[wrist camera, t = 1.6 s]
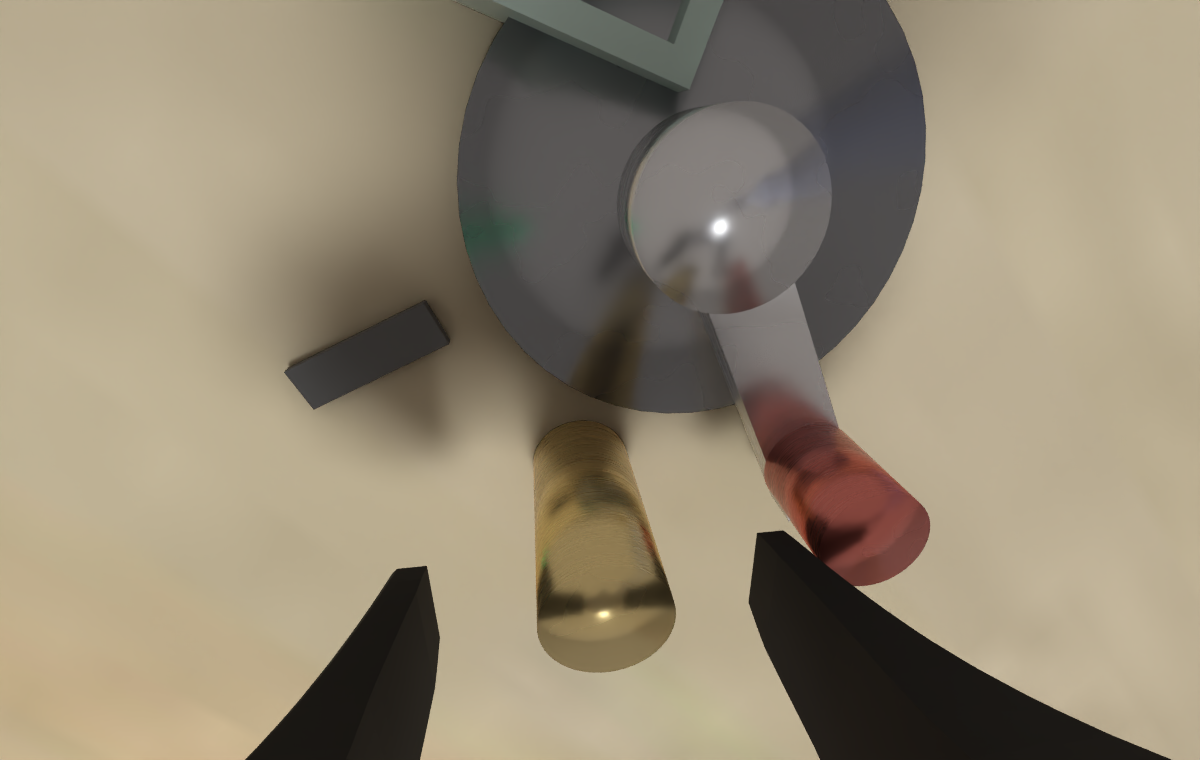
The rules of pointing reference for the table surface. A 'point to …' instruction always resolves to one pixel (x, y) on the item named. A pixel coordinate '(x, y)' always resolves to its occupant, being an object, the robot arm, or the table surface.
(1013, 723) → the robot arm
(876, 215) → the dark gray disc
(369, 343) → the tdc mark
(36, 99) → the table surface
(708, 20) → the tray
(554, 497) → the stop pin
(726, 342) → the crank
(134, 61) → the table surface
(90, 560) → the table surface
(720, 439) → the table surface
